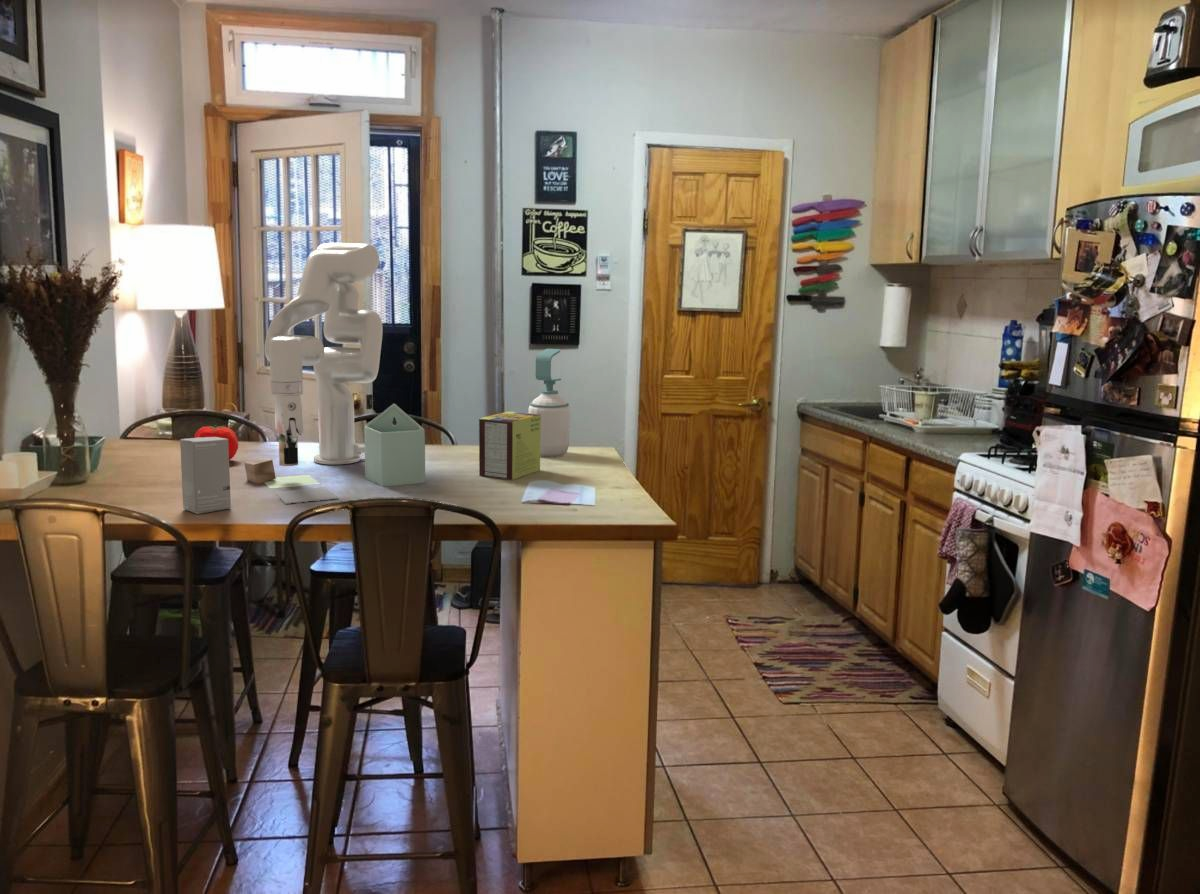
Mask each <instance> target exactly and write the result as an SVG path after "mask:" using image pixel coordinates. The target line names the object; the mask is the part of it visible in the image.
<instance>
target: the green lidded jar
mask: <svg viewBox="0 0 1200 894" xmlns="http://www.w3.org/2000/svg"><path fill="white" fill-rule="evenodd" d="M298 437H299V436H298V435H297V445H298V443H299V442H298V440H299V438H298ZM277 438H278V439H277V440H278V460H279V461H278V462H279V466H281V467H294V466H298V465H299V462H298V463H297V464H285V463H284V448H285V438H284V435H282V436H279V435H278V437H277ZM288 439H289V438H288Z"/></svg>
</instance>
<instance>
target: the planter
mask: <svg viewBox="0 0 1200 894" xmlns="http://www.w3.org/2000/svg"><path fill="white" fill-rule="evenodd" d="M394 421H395V422H396V424H394V423H393V422H394ZM425 433H426V431H425V428H424V427H423V426H422V425H420V424H419V423H418V422H417V421H416V420H415V419H414V418H412V416H409V415H408V414H407V413H406V412H405V411H404V410H403V409H402V408H400V407H399V406H398V405H397V404H396V403H392V404H391V405H390V406H388V407H387V408H386V409H384V410H383V412H381V413H380V414H378V415H377V416H375V418H373V419H372V420H370V421H369V422H367V423H366V424H365V425H364V446H365V453H364V469H365V470H364V473H365V474H364V475H365V476H364V477H365V479H366V480H368V481H370V482H372V483H375V485H378V486H379V487H393V486H394V487H395V486H405V485H412V484H413V485H414V484H425V483H426V434H425Z"/></svg>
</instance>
